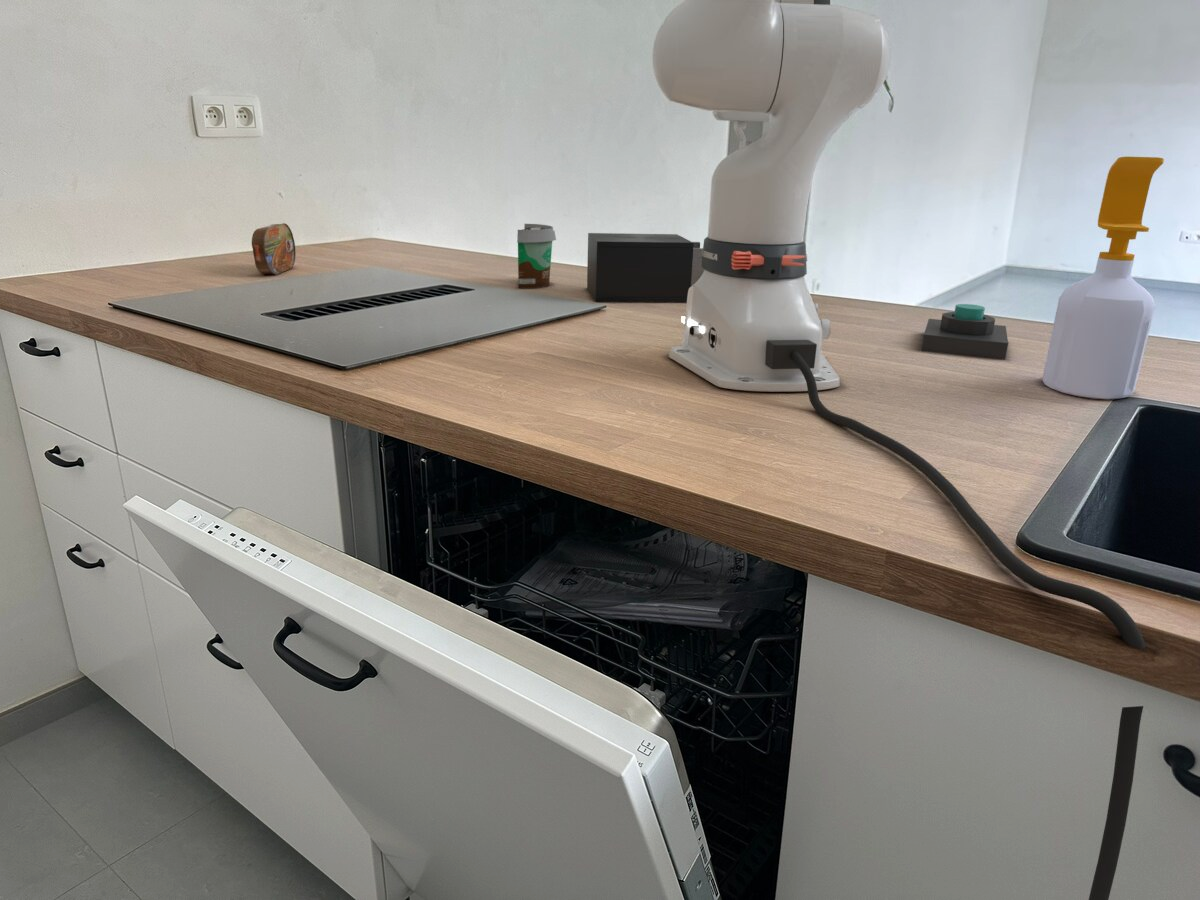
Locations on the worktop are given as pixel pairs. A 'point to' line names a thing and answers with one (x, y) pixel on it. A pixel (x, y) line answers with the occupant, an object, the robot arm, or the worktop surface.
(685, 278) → the cabinet
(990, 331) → the control block
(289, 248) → the tin
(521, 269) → the coffee cup
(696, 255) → the drawer
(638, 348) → the worktop surface
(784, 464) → the worktop surface
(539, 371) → the worktop surface
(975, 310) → the button
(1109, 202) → the soap bottle
